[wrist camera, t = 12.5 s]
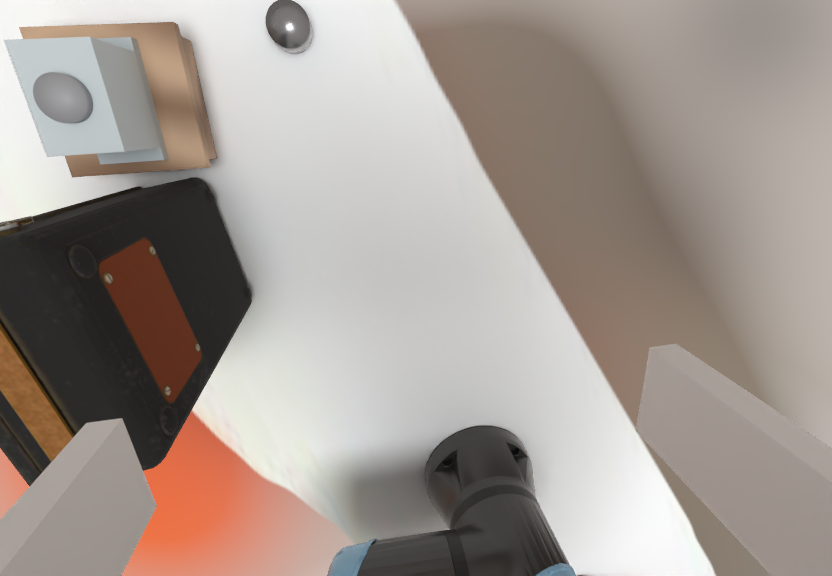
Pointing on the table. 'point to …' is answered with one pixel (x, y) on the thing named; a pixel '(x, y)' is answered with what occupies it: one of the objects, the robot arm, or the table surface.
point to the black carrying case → (113, 318)
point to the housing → (89, 97)
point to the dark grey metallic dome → (289, 26)
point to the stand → (153, 95)
